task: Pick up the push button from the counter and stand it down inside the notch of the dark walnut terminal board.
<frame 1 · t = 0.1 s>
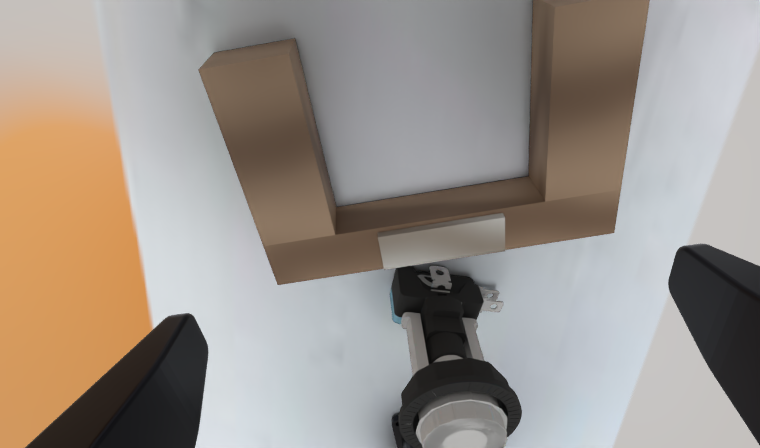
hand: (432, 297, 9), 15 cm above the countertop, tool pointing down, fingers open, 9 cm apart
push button: (441, 282, 28), on the countertop
notched board: (425, 138, 23), on the countertop
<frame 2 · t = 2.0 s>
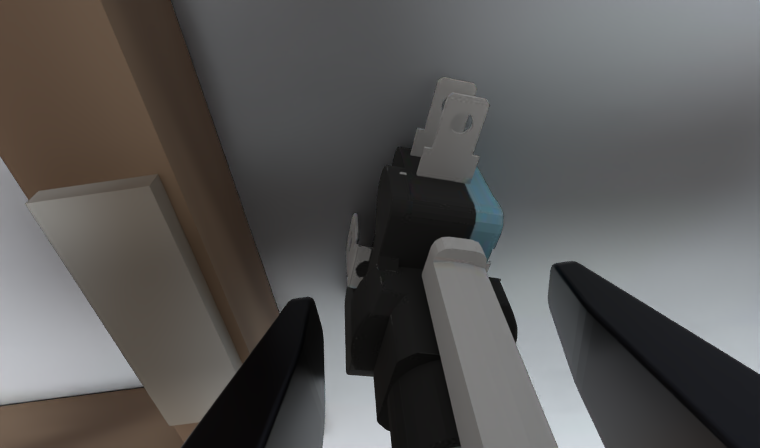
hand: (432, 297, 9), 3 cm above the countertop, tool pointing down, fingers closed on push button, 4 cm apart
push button: (414, 206, 11), on the countertop, touching gripper
notched board: (30, 263, 12), on the countertop
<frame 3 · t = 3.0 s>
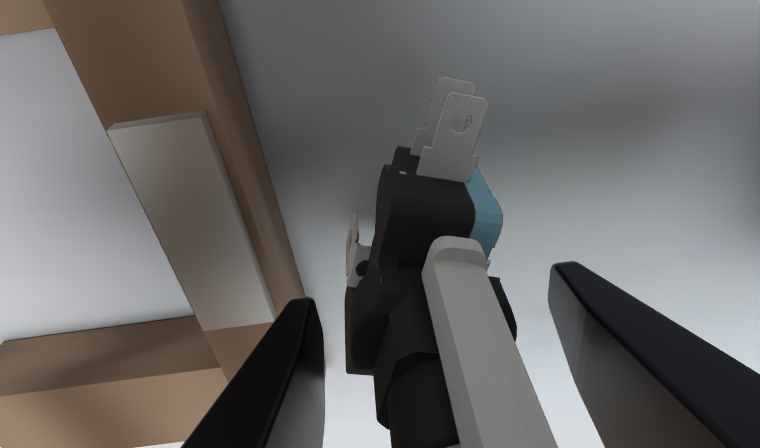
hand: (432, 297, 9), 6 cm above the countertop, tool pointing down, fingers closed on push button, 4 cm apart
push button: (414, 206, 11), point 3 cm above the countertop, touching gripper
notched board: (86, 202, 14), on the countertop
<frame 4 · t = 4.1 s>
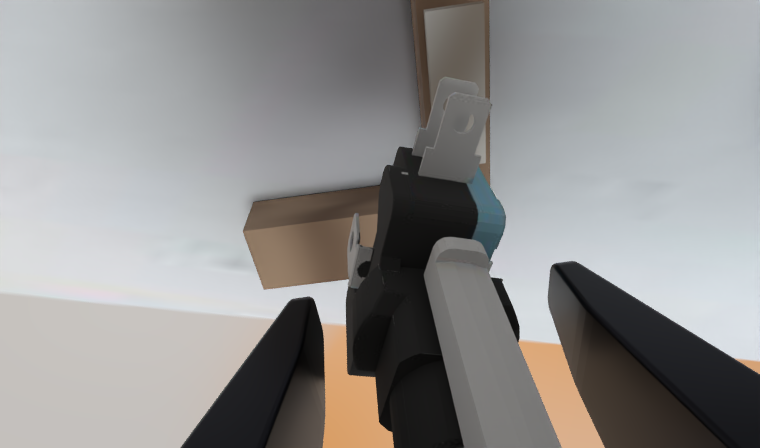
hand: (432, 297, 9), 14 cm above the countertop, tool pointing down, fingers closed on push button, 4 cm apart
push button: (416, 206, 11), point 10 cm above the countertop, touching gripper
notched board: (346, 85, 20), on the countertop
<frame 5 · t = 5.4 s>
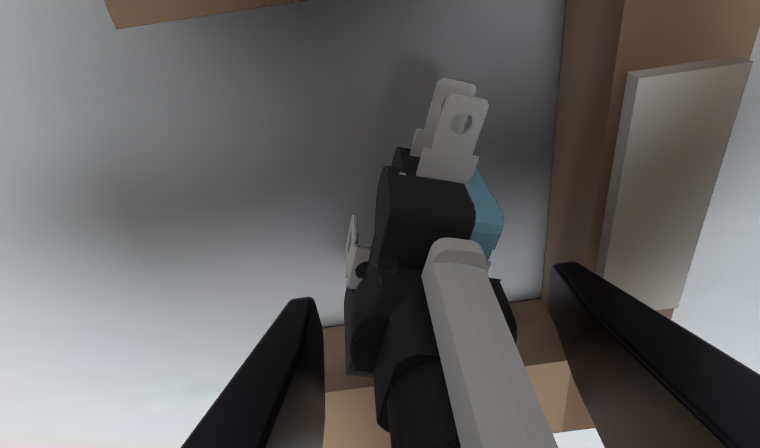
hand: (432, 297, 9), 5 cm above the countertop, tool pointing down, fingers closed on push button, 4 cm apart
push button: (414, 207, 11), point 1 cm above the countertop, touching gripper
notched board: (439, 175, 13), on the countertop
when the fingers open (4 cm above the countertop, at t = 6.0 s): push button drops 1 cm, on the countertop.
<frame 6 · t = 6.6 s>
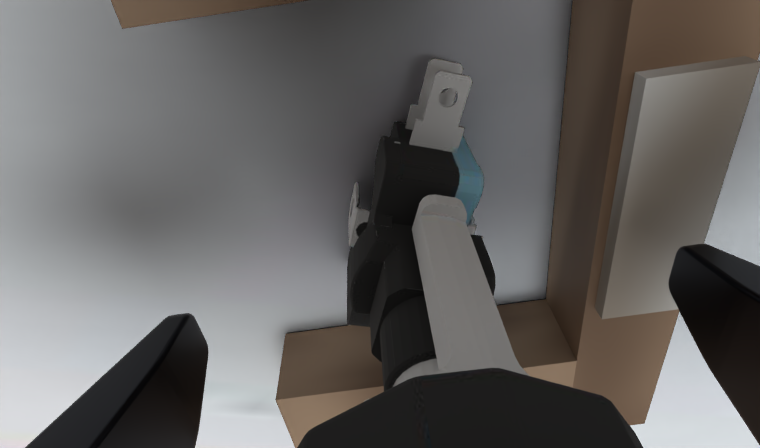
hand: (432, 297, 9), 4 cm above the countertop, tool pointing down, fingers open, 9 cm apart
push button: (410, 178, 13), on the countertop
notched board: (444, 175, 13), on the countertop
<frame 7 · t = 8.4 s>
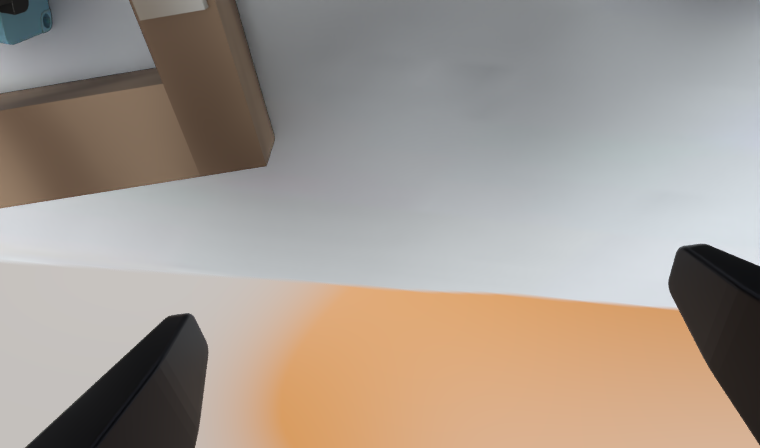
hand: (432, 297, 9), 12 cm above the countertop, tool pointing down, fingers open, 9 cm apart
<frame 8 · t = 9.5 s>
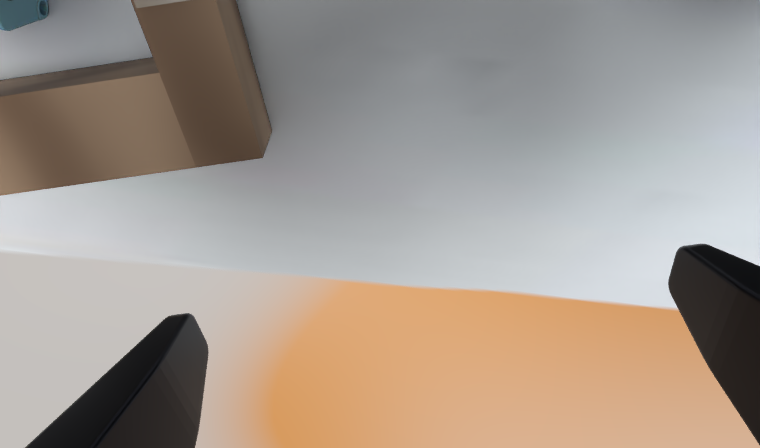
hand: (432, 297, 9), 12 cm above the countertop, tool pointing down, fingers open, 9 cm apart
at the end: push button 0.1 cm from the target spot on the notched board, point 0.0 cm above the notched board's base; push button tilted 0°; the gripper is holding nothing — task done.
